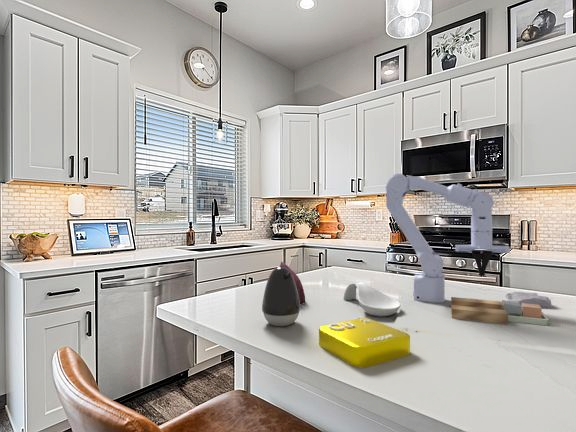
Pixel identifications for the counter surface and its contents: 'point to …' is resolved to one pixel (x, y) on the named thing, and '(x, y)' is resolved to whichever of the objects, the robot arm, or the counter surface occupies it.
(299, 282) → the vegetable
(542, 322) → the sage tray
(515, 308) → the grey steel block
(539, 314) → the terracotta block
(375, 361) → the element tile
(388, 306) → the spoon rest
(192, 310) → the counter surface
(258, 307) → the counter surface
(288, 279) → the black egg shape
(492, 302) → the oak channel board
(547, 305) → the stone block
